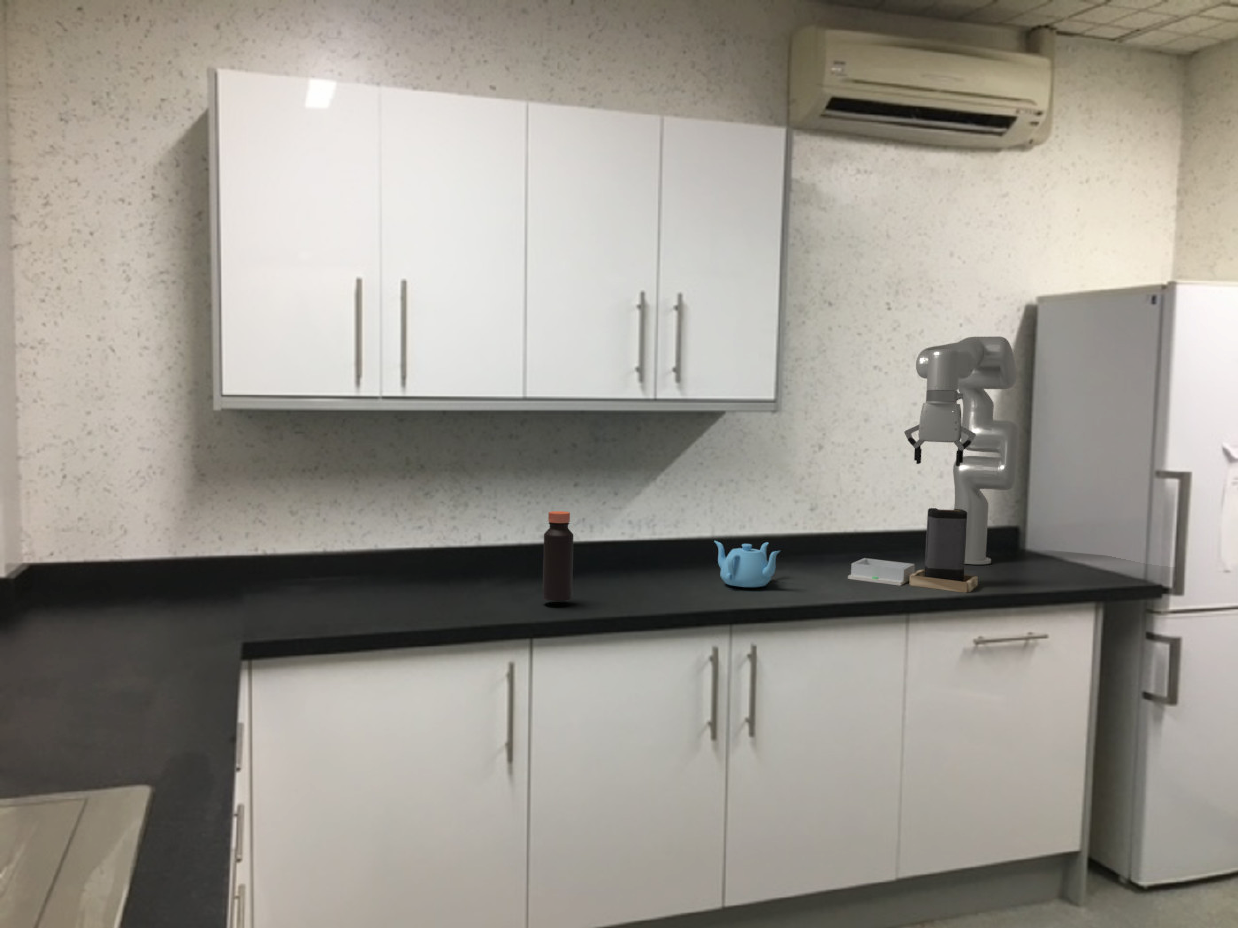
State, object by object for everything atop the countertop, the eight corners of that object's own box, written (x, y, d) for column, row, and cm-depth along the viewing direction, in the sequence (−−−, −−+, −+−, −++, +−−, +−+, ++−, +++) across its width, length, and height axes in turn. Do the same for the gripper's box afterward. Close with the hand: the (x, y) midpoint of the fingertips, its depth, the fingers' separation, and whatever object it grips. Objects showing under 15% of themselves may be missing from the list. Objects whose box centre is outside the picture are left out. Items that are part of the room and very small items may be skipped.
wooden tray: (920, 578, 251) (920, 569, 251) (978, 585, 243) (978, 576, 243) (908, 585, 241) (908, 575, 241) (968, 592, 233) (969, 583, 233)
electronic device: (958, 583, 245) (962, 509, 243) (964, 588, 239) (969, 511, 237) (922, 582, 246) (926, 507, 244) (927, 586, 240) (931, 510, 238)
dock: (866, 570, 261) (866, 556, 261) (916, 576, 254) (917, 562, 254) (847, 578, 248) (848, 564, 247) (900, 585, 240) (901, 571, 240)
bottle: (536, 597, 214) (538, 511, 213) (561, 593, 219) (563, 510, 217) (553, 602, 209) (555, 515, 208) (577, 599, 213) (579, 513, 212)
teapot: (721, 589, 230) (722, 548, 229) (711, 577, 245) (713, 538, 244) (779, 590, 231) (781, 549, 230) (766, 578, 246) (768, 539, 245)
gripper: (979, 399, 235) (975, 465, 237) (908, 397, 243) (905, 462, 244) (976, 398, 229) (972, 467, 230) (904, 397, 236) (900, 463, 237)
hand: (938, 464), depth 237 cm, fingers open, 9 cm apart
